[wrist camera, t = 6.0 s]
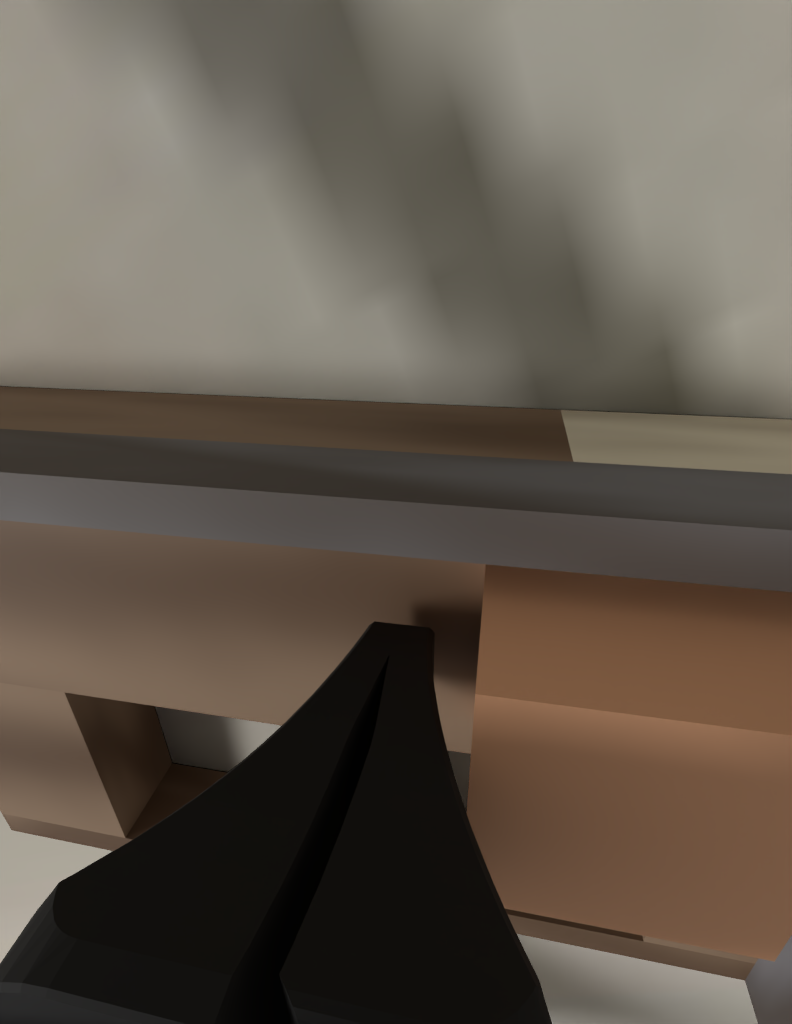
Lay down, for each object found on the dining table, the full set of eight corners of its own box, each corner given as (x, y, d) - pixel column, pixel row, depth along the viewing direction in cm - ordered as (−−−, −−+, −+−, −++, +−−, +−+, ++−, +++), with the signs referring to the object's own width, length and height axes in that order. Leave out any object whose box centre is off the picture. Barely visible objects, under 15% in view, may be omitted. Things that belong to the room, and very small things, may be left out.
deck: (744, 879, 18) (815, 1082, 14) (68, 760, 23) (-35, 887, 19) (976, 427, 11) (1286, 566, 6) (-103, 382, 15) (-345, 446, 11)
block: (700, 749, 12) (774, 961, 9) (474, 718, 13) (459, 899, 10) (769, 562, 10) (910, 751, 6) (488, 539, 11) (475, 694, 7)
